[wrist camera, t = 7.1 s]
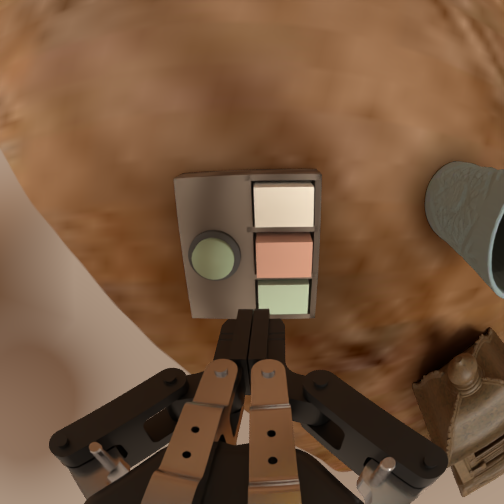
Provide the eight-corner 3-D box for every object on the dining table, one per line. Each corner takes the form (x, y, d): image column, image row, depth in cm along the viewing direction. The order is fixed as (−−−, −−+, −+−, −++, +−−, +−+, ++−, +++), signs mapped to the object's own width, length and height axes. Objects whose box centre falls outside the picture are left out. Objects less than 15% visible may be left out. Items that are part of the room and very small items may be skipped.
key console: (316, 169, 26) (324, 176, 22) (311, 301, 31) (316, 326, 27) (183, 173, 27) (168, 181, 23) (198, 301, 32) (189, 325, 28)
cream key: (310, 181, 24) (314, 187, 22) (309, 217, 26) (313, 226, 24) (255, 182, 25) (253, 187, 23) (256, 218, 26) (255, 227, 24)
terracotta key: (309, 232, 26) (312, 242, 24) (308, 264, 28) (311, 277, 25) (257, 232, 27) (255, 242, 24) (258, 265, 28) (256, 278, 26)
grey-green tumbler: (408, 171, 25) (481, 204, 14) (479, 141, 23) (559, 161, 12) (430, 258, 29) (488, 321, 18) (494, 224, 26) (560, 269, 15)
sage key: (306, 272, 29) (309, 284, 27) (305, 300, 30) (307, 313, 28) (259, 273, 29) (258, 285, 27) (259, 300, 31) (258, 314, 28)
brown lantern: (382, 338, 37) (401, 462, 20) (491, 272, 29) (560, 374, 13) (439, 429, 45) (451, 502, 29) (510, 390, 38) (534, 460, 22)
